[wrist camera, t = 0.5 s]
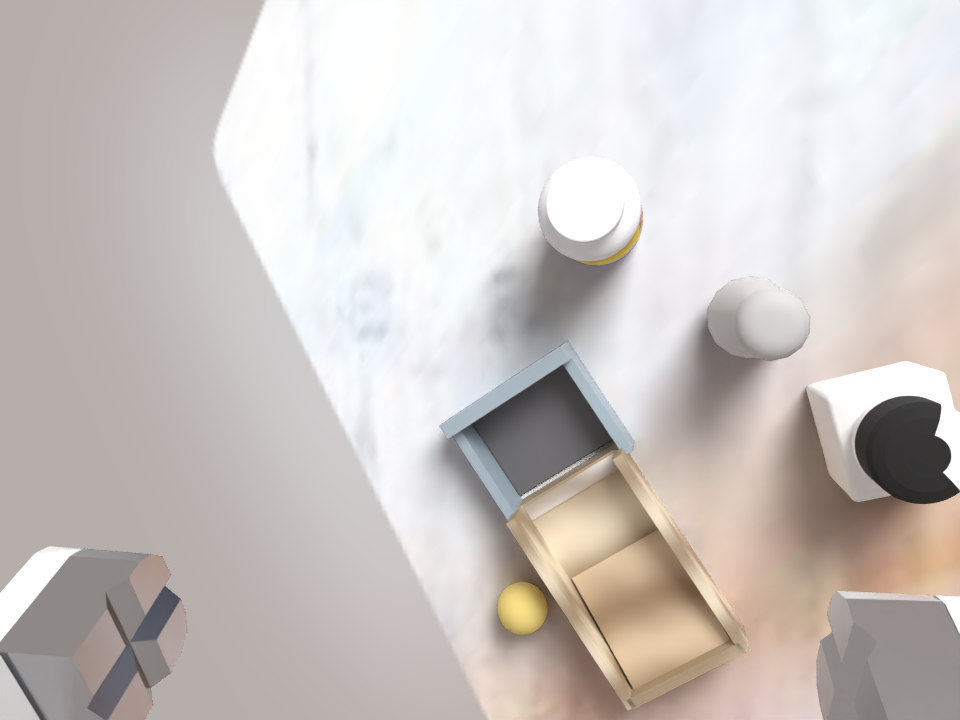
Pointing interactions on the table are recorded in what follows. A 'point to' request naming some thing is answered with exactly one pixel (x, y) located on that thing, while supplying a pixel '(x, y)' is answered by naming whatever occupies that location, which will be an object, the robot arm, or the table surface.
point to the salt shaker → (758, 319)
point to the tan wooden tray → (627, 578)
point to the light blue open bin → (535, 426)
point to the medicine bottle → (889, 433)
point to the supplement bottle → (591, 211)
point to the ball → (522, 608)
